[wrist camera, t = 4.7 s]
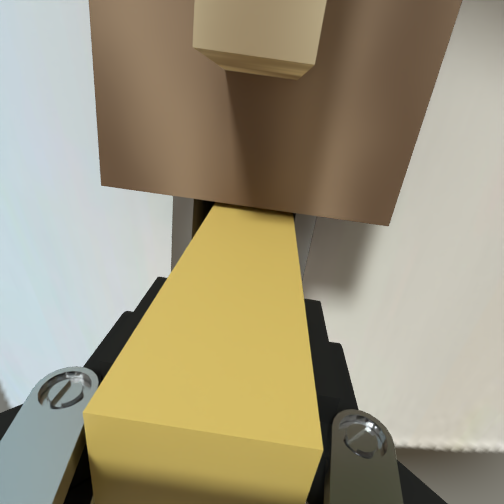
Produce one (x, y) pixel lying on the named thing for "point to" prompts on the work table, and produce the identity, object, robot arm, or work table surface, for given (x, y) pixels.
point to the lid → (265, 103)
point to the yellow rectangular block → (214, 377)
